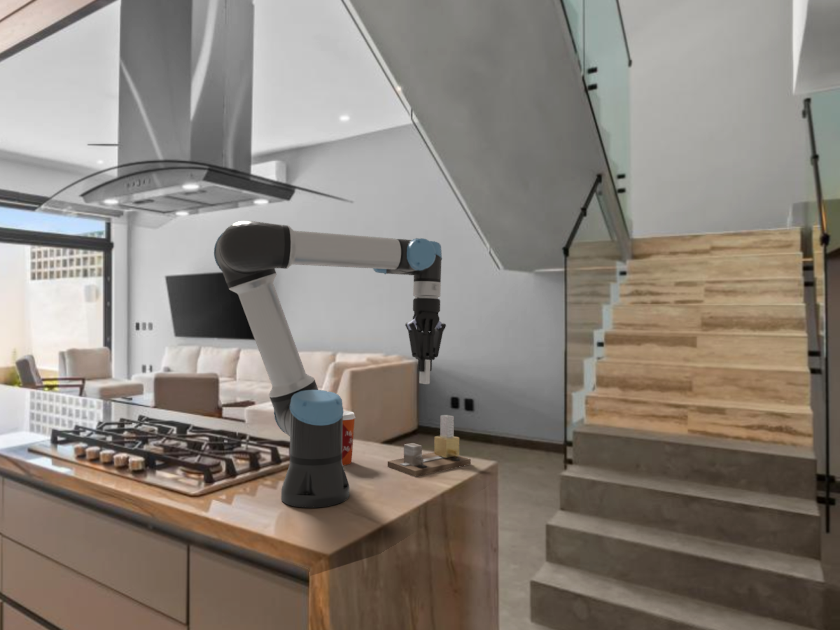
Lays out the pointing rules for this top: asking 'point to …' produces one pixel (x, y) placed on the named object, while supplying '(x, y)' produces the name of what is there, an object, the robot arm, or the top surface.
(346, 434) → the paper cup
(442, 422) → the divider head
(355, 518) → the top surface
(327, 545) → the top surface
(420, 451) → the assembly board
